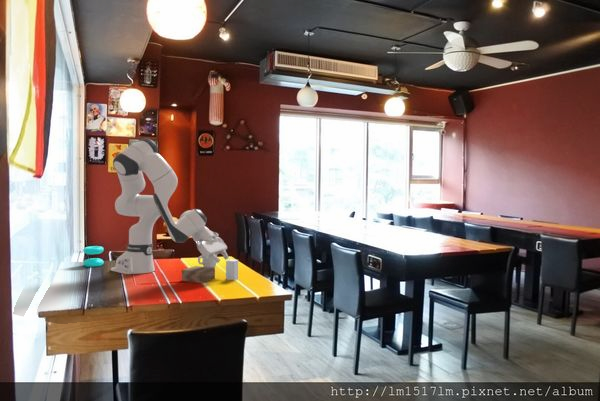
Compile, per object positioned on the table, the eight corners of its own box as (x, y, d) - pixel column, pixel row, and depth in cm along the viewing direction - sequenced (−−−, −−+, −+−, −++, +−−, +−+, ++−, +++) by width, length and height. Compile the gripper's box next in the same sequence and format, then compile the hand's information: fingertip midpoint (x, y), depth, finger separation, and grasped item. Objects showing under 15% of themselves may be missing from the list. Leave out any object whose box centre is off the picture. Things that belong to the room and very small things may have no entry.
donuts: (87, 249, 239) (80, 246, 246) (87, 268, 239) (80, 265, 246) (106, 247, 246) (99, 245, 253) (106, 265, 246) (99, 263, 253)
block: (225, 279, 219) (226, 260, 219) (229, 277, 223) (229, 259, 223) (234, 280, 218) (234, 261, 218) (238, 278, 222) (238, 259, 222)
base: (181, 280, 215) (181, 269, 215) (196, 276, 225) (196, 266, 225) (200, 283, 211) (201, 272, 210) (214, 278, 221) (214, 268, 220)
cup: (202, 270, 239) (202, 255, 239) (194, 267, 245) (194, 253, 245) (219, 267, 247) (220, 253, 246) (212, 265, 253) (212, 251, 252)
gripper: (198, 236, 212) (217, 259, 210) (218, 232, 232) (236, 252, 230) (190, 245, 214) (208, 268, 211) (210, 240, 233) (227, 261, 231)
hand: (223, 260), depth 221 cm, fingers open, 8 cm apart
